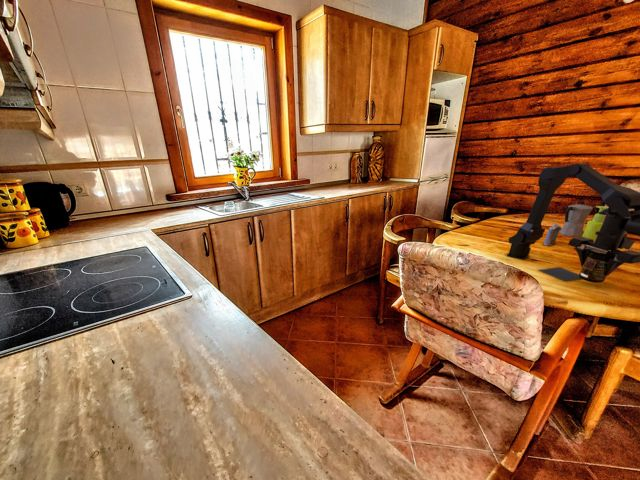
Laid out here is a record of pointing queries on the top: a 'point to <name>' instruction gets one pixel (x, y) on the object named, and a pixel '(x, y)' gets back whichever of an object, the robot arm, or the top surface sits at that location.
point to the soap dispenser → (594, 225)
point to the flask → (552, 234)
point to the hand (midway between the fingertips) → (594, 271)
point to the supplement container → (595, 266)
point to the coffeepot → (575, 219)
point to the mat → (561, 274)
